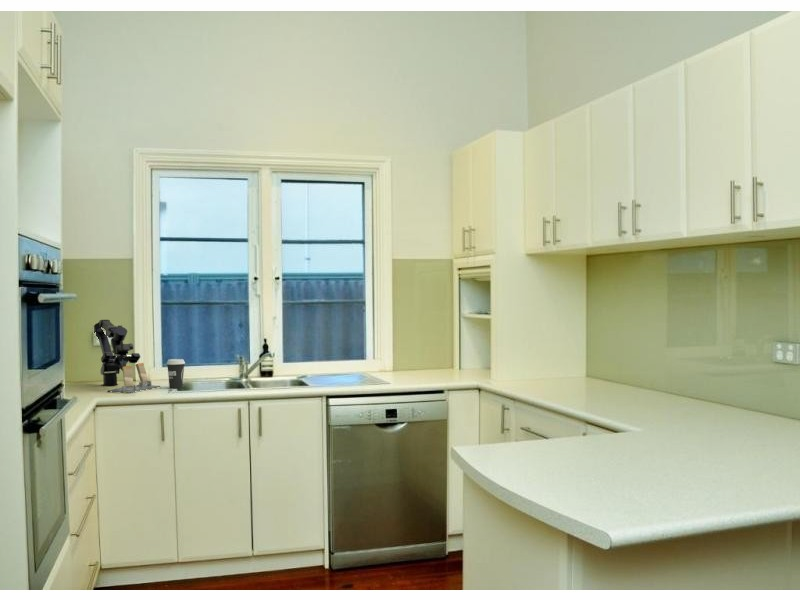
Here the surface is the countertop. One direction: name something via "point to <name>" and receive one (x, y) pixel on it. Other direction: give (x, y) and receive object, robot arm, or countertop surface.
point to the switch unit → (135, 387)
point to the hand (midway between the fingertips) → (124, 371)
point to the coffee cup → (175, 373)
